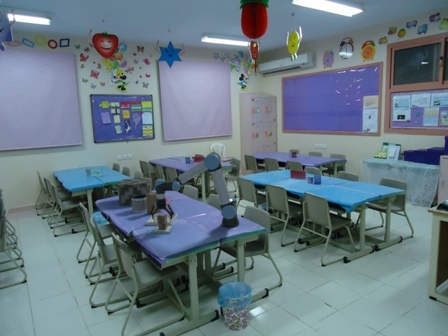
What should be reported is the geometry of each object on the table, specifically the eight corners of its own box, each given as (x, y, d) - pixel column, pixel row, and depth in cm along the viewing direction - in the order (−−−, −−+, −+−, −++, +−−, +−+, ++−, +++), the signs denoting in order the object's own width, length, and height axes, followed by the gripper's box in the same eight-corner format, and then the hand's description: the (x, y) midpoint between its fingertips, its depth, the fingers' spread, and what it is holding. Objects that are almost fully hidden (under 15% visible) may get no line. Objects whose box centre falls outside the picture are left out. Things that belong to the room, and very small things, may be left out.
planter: (140, 213, 319) (139, 199, 317) (129, 211, 327) (127, 197, 325) (151, 209, 333) (150, 195, 330) (140, 207, 341) (139, 194, 338)
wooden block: (161, 212, 319) (159, 193, 316) (152, 215, 312) (151, 195, 309) (155, 211, 326) (153, 191, 323) (146, 213, 319) (145, 193, 316)
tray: (178, 217, 304) (177, 213, 303) (171, 226, 280) (170, 222, 279) (154, 217, 306) (154, 213, 306) (145, 226, 282) (145, 222, 282)
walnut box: (167, 227, 273) (166, 213, 271) (165, 229, 267) (164, 215, 265) (160, 227, 274) (159, 213, 272) (158, 229, 268) (157, 215, 266)
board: (174, 226, 278) (174, 225, 277) (169, 233, 262) (169, 232, 262) (156, 226, 279) (156, 225, 279) (150, 233, 264) (150, 232, 263)
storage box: (123, 198, 382) (121, 179, 379) (153, 196, 386) (152, 177, 382) (117, 206, 348) (115, 185, 344) (150, 204, 352) (149, 183, 348)
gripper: (177, 196, 268) (178, 221, 272) (147, 197, 271) (149, 221, 275) (174, 199, 261) (176, 224, 265) (144, 199, 264) (146, 224, 267)
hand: (162, 223), depth 270 cm, fingers open, 13 cm apart
